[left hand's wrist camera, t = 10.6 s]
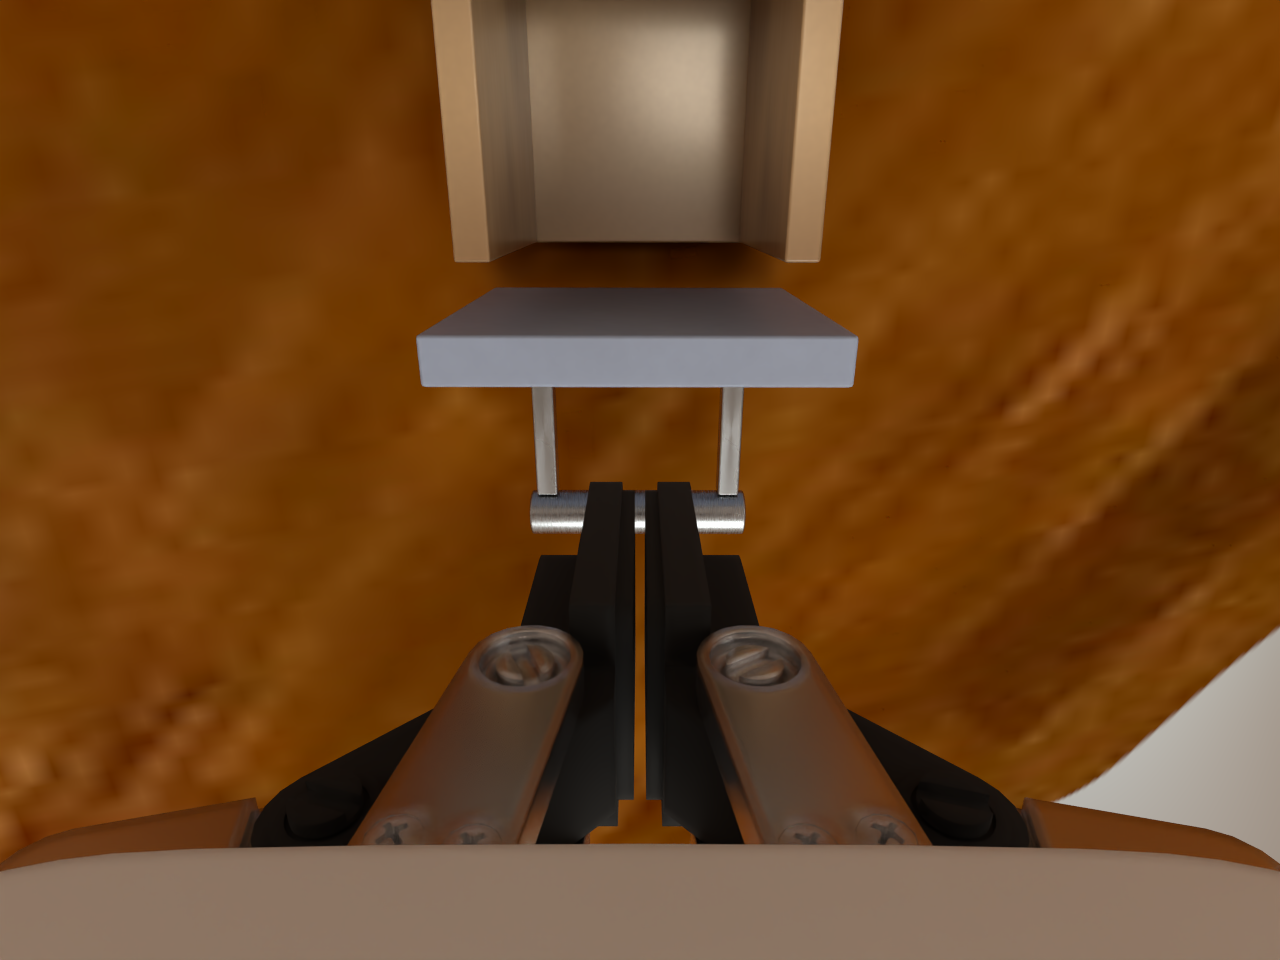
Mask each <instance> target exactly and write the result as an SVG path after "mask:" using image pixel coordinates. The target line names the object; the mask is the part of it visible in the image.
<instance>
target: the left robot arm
mask: <svg viewBox="0 0 1280 960" xmlns="http://www.w3.org/2000/svg"><path fill="white" fill-rule="evenodd" d="M634 719H635V490H623V485H622V482H590V486H589V492H588V498H587V504H586V509H585V515H584V521H583V526H582V532H581V538H580V543H579V549H578V555H541V557H540V559H539V563H538V566H537V570H536V573H535V577H534V581H533V584H532V588H531V591H530V595H529V598H528V602H527V606H526V609H525V613H524V616H523V620H522V623H521V626H519V627H513V628H507V629H505V630H502V631H499V632H496V633H494V634H491V635H489V636H488V637H486V638H485V639H483V640H481V641H480V642H478V643H477V644H476V646H475V647H474V648H473V649H472V650H471V651H470V652H469V654H468V655H467V657H466V658H465V660H464V661H463V663H462V665H461V666H460V668H459V669H458V671H457V673H456V674H455V676H454V677H453V679H452V680H451V682H450V684H449V685H448V687H447V688H446V690H445V692H444V693H443V695H442V696H441V698H440V699H439V701H438V703H437V704H436V706H435V707H434V709H432V710H430V711H428V712H426V713H424V714H422V715H420V716H419V717H417V718H415V719H413V720H411V721H409V722H407V723H405V724H403V725H401V726H399V727H398V728H396V729H394V730H392V731H390V732H388V733H386V734H384V735H382V736H380V737H378V738H376V739H375V740H373V741H371V742H369V743H367V744H365V745H363V746H361V747H359V748H357V749H355V750H353V751H352V752H350V753H348V754H346V755H344V756H342V757H340V758H338V759H336V760H334V761H332V762H331V763H329V764H327V765H325V766H323V767H321V768H319V769H317V770H315V771H313V772H311V773H309V774H308V775H306V776H304V777H302V778H300V779H299V780H297V781H295V782H294V783H292V784H291V785H289V786H288V787H286V788H285V789H283V790H282V791H280V792H279V793H278V794H277V795H276V796H275V797H274V798H273V799H272V800H271V801H270V802H269V803H268V804H267V805H266V806H265V807H264V808H261V809H258V806H257V802H256V798H250V799H244V800H238V801H232V802H226V803H220V804H215V805H209V806H203V807H197V808H191V809H186V810H180V811H174V812H168V813H162V814H157V815H151V816H145V817H139V818H133V819H128V820H122V821H116V822H110V823H104V824H98V825H93V826H87V827H81V828H75V829H71V830H68V831H64V832H61V833H57V834H54V835H51V836H47V837H45V838H43V839H41V840H39V841H37V842H35V843H33V844H31V845H29V846H27V847H25V848H23V849H21V850H19V851H17V852H16V853H14V854H13V855H12V856H10V857H9V858H8V859H6V860H5V861H3V862H2V863H1V864H0V960H1280V864H1279V863H1278V862H1277V861H1275V860H1274V859H1272V858H1271V857H1270V856H1268V855H1267V854H1266V853H1264V852H1263V851H1261V850H1259V849H1257V848H1255V847H1253V846H1251V845H1249V844H1247V843H1245V842H1243V841H1241V840H1239V839H1237V838H1235V837H1233V836H1229V835H1226V834H1222V833H1219V832H1215V831H1212V830H1209V829H1205V828H1199V827H1193V826H1187V825H1182V824H1176V823H1170V822H1164V821H1158V820H1152V819H1147V818H1141V817H1135V816H1129V815H1123V814H1118V813H1112V812H1106V811H1100V810H1094V809H1088V808H1083V807H1077V806H1071V805H1065V804H1060V803H1054V802H1048V801H1042V800H1036V799H1030V798H1024V802H1023V806H1022V809H1019V808H1016V807H1015V806H1014V805H1013V804H1012V803H1011V802H1010V801H1009V800H1008V799H1007V798H1006V797H1005V796H1004V795H1003V794H1002V793H1001V792H1000V791H998V790H997V789H995V788H994V787H992V786H991V785H989V784H988V783H986V782H985V781H983V780H981V779H980V778H978V777H976V776H974V775H972V774H971V773H969V772H967V771H965V770H963V769H961V768H959V767H957V766H955V765H953V764H951V763H949V762H948V761H946V760H944V759H942V758H940V757H938V756H936V755H934V754H932V753H930V752H928V751H927V750H925V749H923V748H921V747H919V746H917V745H915V744H913V743H911V742H909V741H907V740H905V739H904V738H902V737H900V736H898V735H896V734H894V733H892V732H890V731H888V730H886V729H884V728H882V727H881V726H879V725H877V724H875V723H873V722H871V721H869V720H867V719H865V718H863V717H861V716H860V715H858V714H856V713H854V712H852V711H850V710H848V709H846V707H845V706H844V704H843V703H842V701H841V699H840V698H839V696H838V695H837V693H836V692H835V690H834V688H833V687H832V685H831V684H830V682H829V680H828V679H827V677H826V676H825V674H824V673H823V671H822V669H821V668H820V666H819V665H818V663H817V661H816V660H815V658H814V657H813V655H812V654H811V652H810V651H809V650H808V649H807V648H806V647H805V646H804V644H803V643H802V642H800V641H799V640H797V639H795V638H794V637H792V636H791V635H789V634H786V633H784V632H781V631H778V630H775V629H773V628H767V627H761V626H759V623H758V620H757V616H756V613H755V609H754V606H753V602H752V598H751V595H750V591H749V588H748V584H747V581H746V577H745V573H744V570H743V566H742V563H741V559H740V557H739V555H702V549H701V543H700V538H699V532H698V526H697V521H696V515H695V509H694V504H693V498H692V492H691V486H690V482H658V485H657V490H645V719H646V800H662V826H683V827H684V828H685V829H687V830H688V831H689V832H690V844H590V832H591V831H592V830H593V829H595V828H596V827H597V826H618V800H634Z"/></svg>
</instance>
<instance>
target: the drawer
mask: <svg viewBox="0 0 1280 960" xmlns="http://www.w3.org/2000/svg"><path fill="white" fill-rule="evenodd" d="M843 1H844V0H431V8H432V19H433V30H434V41H435V52H436V63H437V74H438V85H439V96H440V107H441V119H442V130H443V141H444V152H445V163H446V174H447V185H448V196H449V207H450V219H451V230H452V241H453V252H454V260H455V262H490V261H492V260H495V259H497V258H500V257H502V256H504V255H507V254H509V253H512V252H514V251H516V250H519V249H521V248H524V247H526V246H528V245H531V244H533V243H536V242H689V243H743V244H745V245H748V246H750V247H752V248H755V249H757V250H759V251H762V252H764V253H766V254H769V255H771V256H773V257H775V258H778V259H780V260H782V261H785V262H787V263H817V262H819V261H820V257H821V246H822V235H823V224H824V213H825V202H826V190H827V179H828V168H829V157H830V146H831V135H832V124H833V113H834V101H835V90H836V79H837V68H838V57H839V46H840V35H841V24H842V12H843ZM416 342H417V351H418V360H419V368H420V377H421V384H422V386H425V387H532V405H533V423H534V441H535V459H536V477H537V490H534V491H533V492H532V495H531V501H530V524H531V530H532V532H533V533H581V532H582V526H583V521H584V515H585V509H586V504H587V498H588V492H589V490H559V487H560V486H559V462H558V439H557V416H556V393H555V387H720V407H719V430H718V453H717V476H716V489H717V490H691V492H692V498H693V504H694V509H695V515H696V521H697V526H698V532H699V534H741V533H743V531H744V527H745V498H744V494H743V491H741V490H738V485H739V467H740V449H741V432H742V414H743V396H744V387H852V386H853V383H854V374H855V365H856V356H857V347H858V336H856V335H854V334H853V333H851V332H850V331H848V330H847V329H845V328H843V327H842V326H840V325H839V324H837V323H835V322H834V321H832V320H831V319H829V318H828V317H826V316H824V315H823V314H821V313H820V312H818V311H816V310H815V309H813V308H812V307H810V306H809V305H807V304H805V303H804V302H802V301H801V300H799V299H798V298H796V297H794V296H793V295H791V294H790V293H788V292H786V291H785V290H783V289H781V288H494V289H493V290H491V291H489V292H488V293H486V294H484V295H483V296H481V297H480V298H478V299H476V300H475V301H473V302H471V303H470V304H468V305H467V306H465V307H463V308H462V309H460V310H458V311H457V312H455V313H453V314H452V315H450V316H449V317H447V318H445V319H444V320H442V321H440V322H439V323H437V324H436V325H434V326H432V327H431V328H429V329H427V330H426V331H424V332H422V333H421V334H419V335H418V336H417V337H416ZM635 533H645V490H635Z"/></svg>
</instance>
